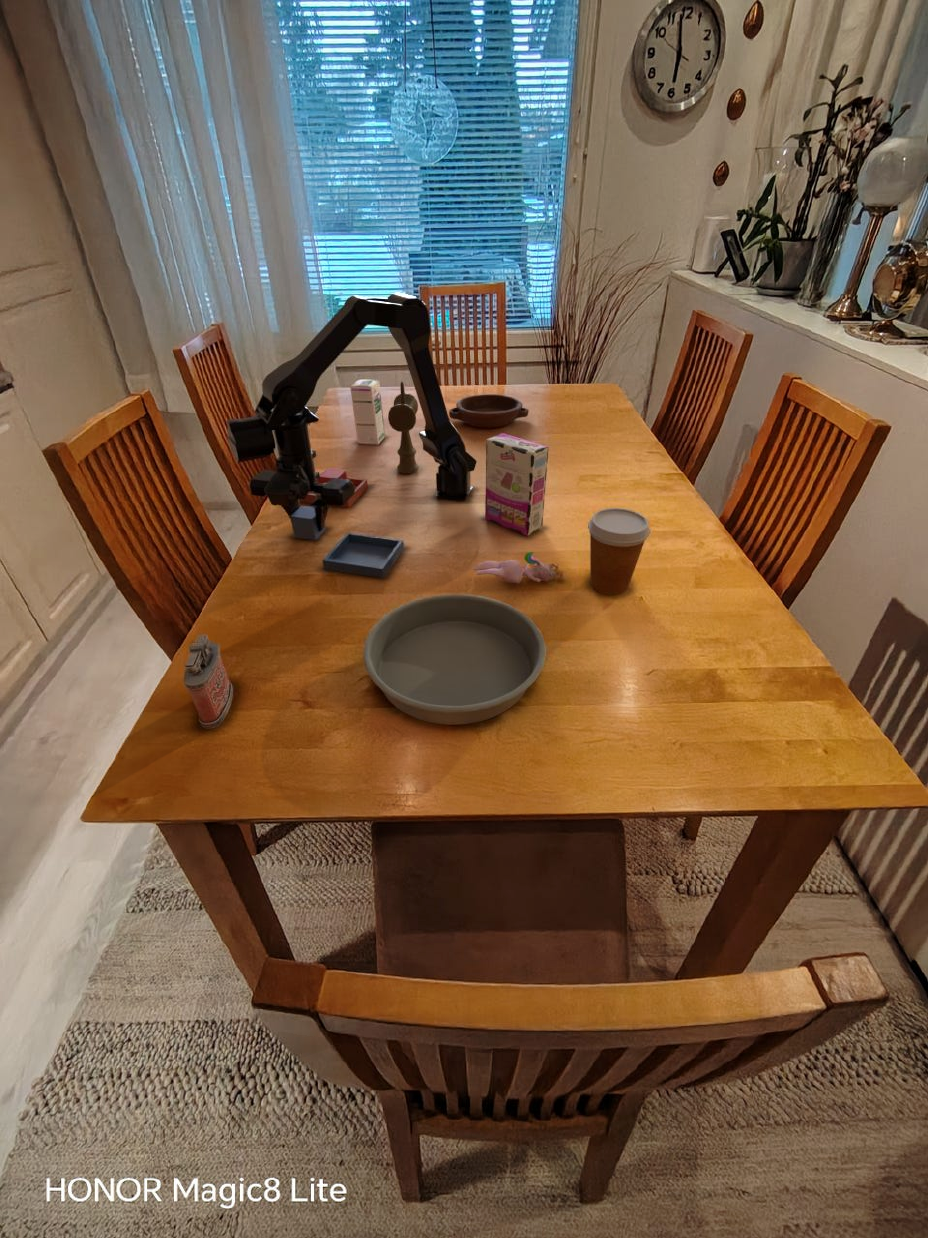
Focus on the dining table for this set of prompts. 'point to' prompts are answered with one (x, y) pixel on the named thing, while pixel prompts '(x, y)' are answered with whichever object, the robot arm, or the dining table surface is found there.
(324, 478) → the red block
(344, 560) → the blue tray
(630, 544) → the disposable coffee cup
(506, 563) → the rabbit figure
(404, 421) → the kendama
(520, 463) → the candy bar box
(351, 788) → the dining table surface
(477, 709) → the cake pan
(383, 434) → the syrup box
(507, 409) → the dish
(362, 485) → the red tray
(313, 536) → the blue block
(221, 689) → the lighter
